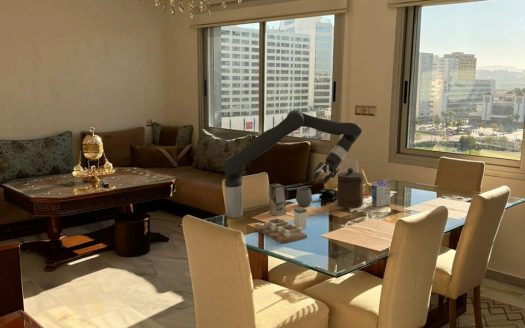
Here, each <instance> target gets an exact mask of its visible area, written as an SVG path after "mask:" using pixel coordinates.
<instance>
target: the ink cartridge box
mask: <svg viewBox="0 0 525 328" xmlns="http://www.w3.org/2000/svg"><path fill="white" fill-rule="evenodd" d="M391 188H392V187H391V184H390V183H387V182H384V180H383V179H379V180H377V183H376V184H371V205H372V206H374V207H376V208H378V207H383V206H391V193H392V192H391Z"/></svg>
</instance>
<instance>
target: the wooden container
mask: <svg viewBox="0 0 525 328" xmlns="http://www.w3.org/2000/svg"><path fill="white" fill-rule="evenodd" d="M354 170H355V169H354V168H353V167H349V168H348V167H347V171H343V172H340V173H337V189H336V190H337V200H336V203H337V206H338V207H341V208H345V209H354V208H355V209H356V208H360V207H363V206H364V205H363V204H364V173H361V172H357V171H354Z"/></svg>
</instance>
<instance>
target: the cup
mask: <svg viewBox="0 0 525 328" xmlns="http://www.w3.org/2000/svg"><path fill="white" fill-rule="evenodd" d="M295 196H296V197H295V201H296V202H297V205H298V206H299V207H302V208H306V207H308V206H310V205H311V203H312V201H313V195H312V191H311V188H309V187H298V188H297V189H296V195H295Z"/></svg>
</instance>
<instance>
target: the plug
mask: <svg viewBox="0 0 525 328" xmlns="http://www.w3.org/2000/svg"><path fill="white" fill-rule="evenodd" d="M293 222H294V223H293V224H294V225H296V226H298V227H301V228H302V230H304V229H307V208H306V207H302V206H299V207H296V208H293Z"/></svg>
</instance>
